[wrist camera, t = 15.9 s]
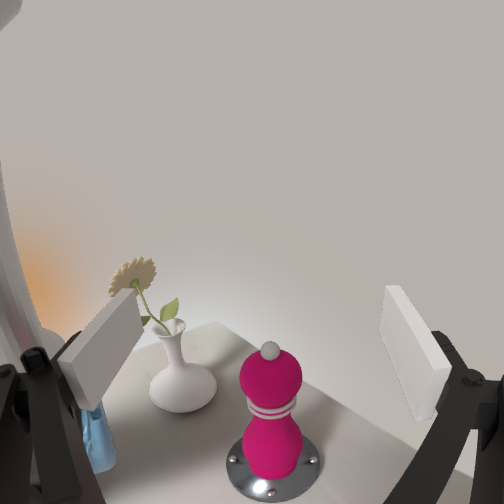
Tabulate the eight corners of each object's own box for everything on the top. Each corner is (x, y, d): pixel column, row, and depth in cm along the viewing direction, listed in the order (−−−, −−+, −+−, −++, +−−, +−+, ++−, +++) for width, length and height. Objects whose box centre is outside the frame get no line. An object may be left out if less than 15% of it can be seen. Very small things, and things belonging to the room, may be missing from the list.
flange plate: (221, 499, 30) (219, 494, 30) (233, 431, 42) (232, 425, 41) (320, 501, 29) (321, 496, 29) (316, 432, 40) (317, 425, 40)
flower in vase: (203, 366, 57) (183, 235, 48) (229, 404, 47) (211, 256, 39) (136, 386, 51) (99, 253, 43) (152, 430, 41) (103, 281, 33)
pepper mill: (301, 483, 31) (313, 368, 24) (241, 482, 32) (223, 368, 25) (300, 440, 38) (308, 320, 31) (247, 440, 39) (234, 321, 32)
